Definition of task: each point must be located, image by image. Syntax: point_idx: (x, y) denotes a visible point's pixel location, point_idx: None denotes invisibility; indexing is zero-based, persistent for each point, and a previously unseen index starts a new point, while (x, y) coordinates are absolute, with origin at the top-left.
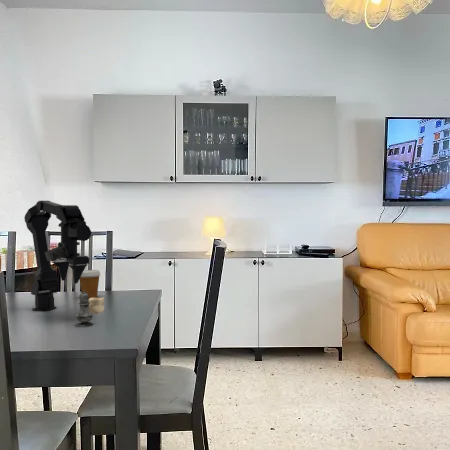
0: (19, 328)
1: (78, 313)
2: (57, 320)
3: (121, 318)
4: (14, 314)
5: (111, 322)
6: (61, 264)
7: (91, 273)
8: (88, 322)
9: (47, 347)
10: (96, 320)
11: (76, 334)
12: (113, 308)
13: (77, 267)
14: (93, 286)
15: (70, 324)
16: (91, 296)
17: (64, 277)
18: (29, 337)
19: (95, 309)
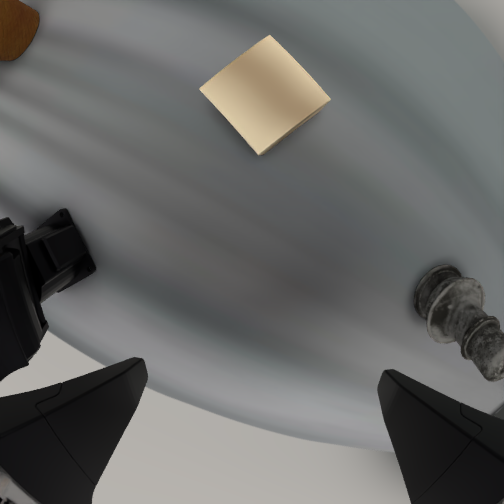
0: (290, 426)
1: (446, 336)
2: (292, 325)
3: (474, 134)
4: (90, 353)
5: (488, 206)
6: (69, 493)
7: None
8: (444, 278)
9: None
10: (429, 221)
11: None
12: (271, 12)
13: (462, 498)
14: (6, 12)
15: (391, 323)
16: (29, 29)
17: (133, 378)
18: None
19: (301, 124)
